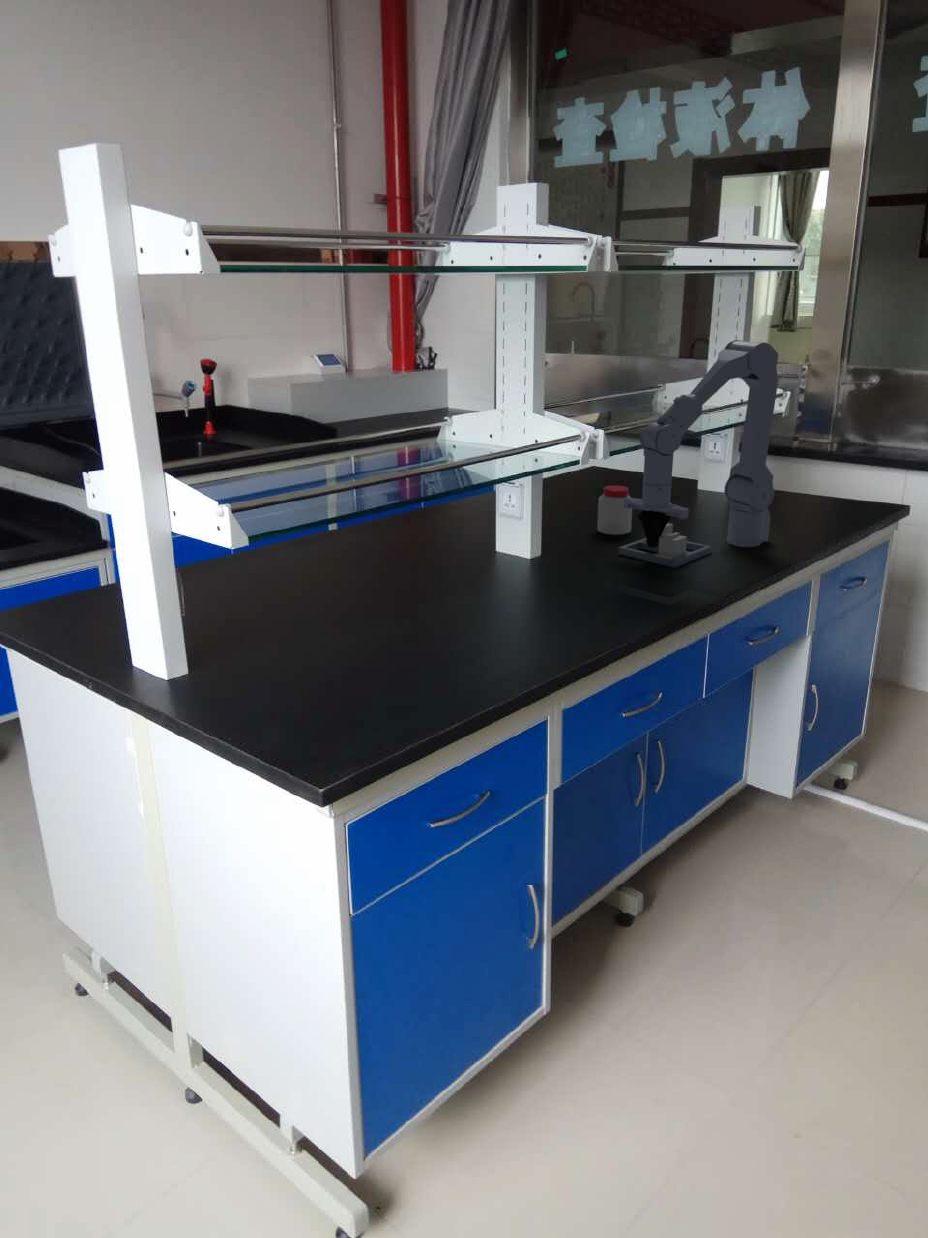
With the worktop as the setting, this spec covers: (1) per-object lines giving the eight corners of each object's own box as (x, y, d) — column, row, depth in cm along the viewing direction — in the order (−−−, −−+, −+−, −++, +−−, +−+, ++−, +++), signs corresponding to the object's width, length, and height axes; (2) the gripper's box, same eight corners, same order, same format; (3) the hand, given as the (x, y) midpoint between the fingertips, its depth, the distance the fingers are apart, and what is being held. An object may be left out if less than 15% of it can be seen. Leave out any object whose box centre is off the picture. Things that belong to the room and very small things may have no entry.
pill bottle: (630, 539, 211) (632, 492, 207) (596, 538, 213) (598, 491, 209) (631, 530, 218) (633, 484, 214) (598, 529, 220) (600, 483, 216)
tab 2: (655, 543, 205) (657, 518, 203) (671, 546, 202) (673, 521, 200) (645, 546, 202) (647, 521, 200) (661, 550, 199) (662, 525, 197)
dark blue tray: (638, 541, 210) (638, 529, 209) (712, 558, 197) (714, 545, 197) (600, 554, 201) (601, 542, 200) (676, 573, 188) (677, 560, 187)
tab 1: (668, 556, 195) (670, 530, 193) (685, 559, 193) (687, 533, 191) (657, 560, 193) (659, 534, 191) (674, 564, 190) (676, 537, 188)
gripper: (616, 480, 192) (613, 543, 197) (677, 491, 183) (672, 557, 188) (636, 475, 197) (632, 537, 202) (696, 485, 188) (690, 549, 192)
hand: (652, 546), depth 195 cm, fingers closed
